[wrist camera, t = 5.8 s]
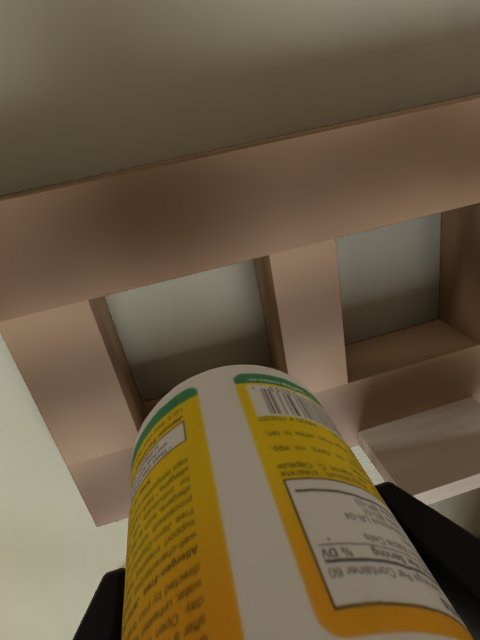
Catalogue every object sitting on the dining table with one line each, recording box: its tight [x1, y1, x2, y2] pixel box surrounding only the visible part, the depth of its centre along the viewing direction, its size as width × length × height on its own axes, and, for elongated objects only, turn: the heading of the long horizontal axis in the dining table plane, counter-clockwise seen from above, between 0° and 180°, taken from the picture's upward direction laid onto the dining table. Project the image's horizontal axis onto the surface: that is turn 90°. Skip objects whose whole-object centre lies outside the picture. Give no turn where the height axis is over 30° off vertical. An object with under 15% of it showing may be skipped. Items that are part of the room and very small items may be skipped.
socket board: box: [0, 94, 480, 527], centre depth 16 cm, size 14×22×7 cm, turn 101°
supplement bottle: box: [121, 365, 474, 640], centre depth 7 cm, size 5×5×10 cm
